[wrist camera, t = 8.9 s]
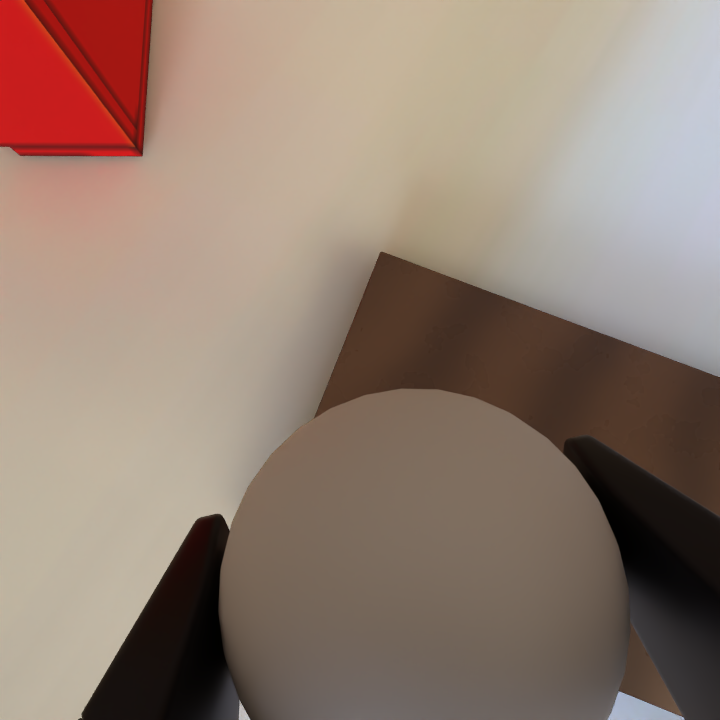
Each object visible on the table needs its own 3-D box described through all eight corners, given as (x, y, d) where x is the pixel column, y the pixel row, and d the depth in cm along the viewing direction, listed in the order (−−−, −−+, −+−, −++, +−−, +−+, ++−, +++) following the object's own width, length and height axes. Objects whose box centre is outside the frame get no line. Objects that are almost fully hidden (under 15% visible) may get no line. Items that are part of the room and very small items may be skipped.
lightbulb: (407, 376, 18) (479, 257, 7) (537, 539, 17) (857, 700, 6) (247, 503, 17) (43, 595, 6) (374, 677, 16) (400, 1134, 5)
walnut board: (789, 419, 23) (829, 417, 21) (707, 714, 22) (742, 741, 20) (379, 266, 24) (380, 250, 22) (271, 537, 23) (262, 546, 21)
